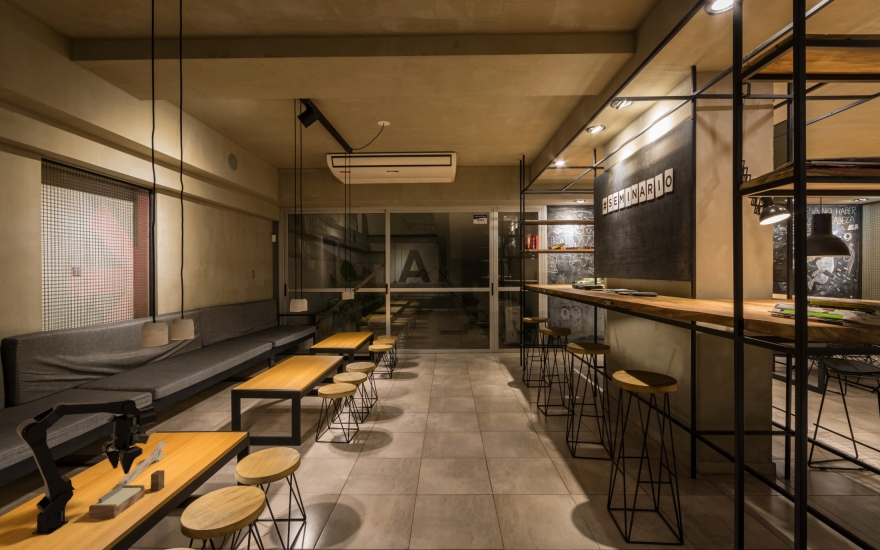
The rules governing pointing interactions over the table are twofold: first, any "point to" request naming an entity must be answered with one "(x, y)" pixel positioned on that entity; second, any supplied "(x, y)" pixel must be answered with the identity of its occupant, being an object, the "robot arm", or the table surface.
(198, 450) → the table surface
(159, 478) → the brown rectangular block
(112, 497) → the cream cabinet door
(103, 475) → the table surface
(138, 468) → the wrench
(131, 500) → the wooden tray
